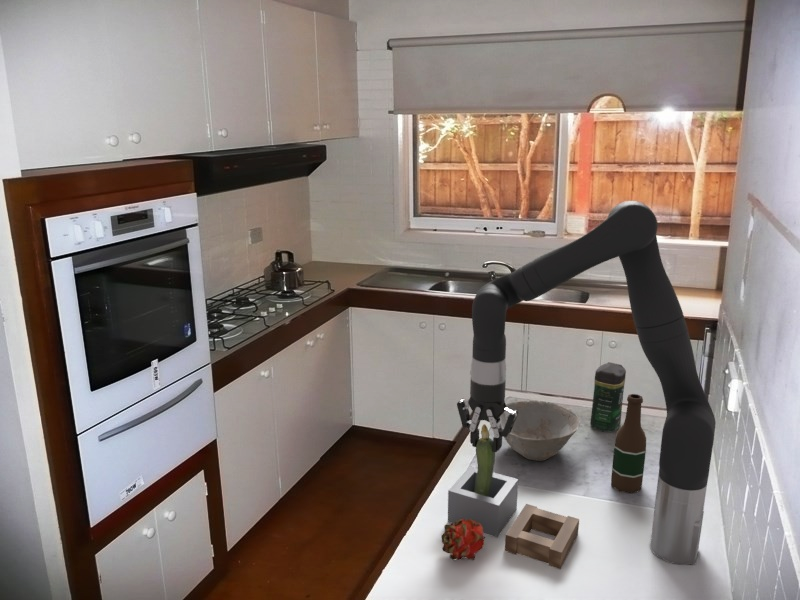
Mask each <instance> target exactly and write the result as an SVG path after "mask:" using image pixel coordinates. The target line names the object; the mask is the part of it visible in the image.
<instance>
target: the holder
mask: <svg viewBox="0 0 800 600" xmlns="http://www.w3.org/2000/svg"><path fill="white" fill-rule="evenodd" d="M477 471H478V467H475V466H471V465H470V466H469V467H468V468H467V469H466V470H465V471H464V472H463V473H462V475H460V477H459V478H458V479H457V480H456V481H455V482H454V483H453V484H452V486H451V487H450V488H449V489H448V492H447V522H448V523H451V524H453V523H455V521H458V520H461V519H464V518H465V521H466V520H468V519H472V520H475V521H476V522H477V523H480V524H481V525H482V528H483V534H485V535H488V536H490V537H491V536H492V537H494V538H497V539H498V538H499V536H500V535H501V533H502V532H503V530H504V529H505V528H506V526H507V525H508V523H509V521H510V520H511V519H512V517H513V515H514V514H515V513H516V511H517V509H518V508H517V507H518V494H519V493H518V490H519V479H518V478H515V477H511V476H509V475H504V474H502V473H501V474H500V473H497V472H495V471H493V476H492V483H491V488H490V492H489V495H488V497H487V496H484V495H480V494H477V493H475V484H476V477H477Z"/></svg>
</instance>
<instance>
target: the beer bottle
mask: <svg viewBox="0 0 800 600" xmlns="http://www.w3.org/2000/svg"><path fill="white" fill-rule="evenodd" d="M626 400H627V407H626V413H625V417H624V418H625V419H624V422H623V424H622V425H621V426H619V427H618V429H617V432H616V434H615V438H614V446H613V455H612V456H613V457H612V465H611V466H612V467H611V476H610V477H611V478H610V479H611V481H610V485H611V486H612V487H613V488H614V489H616V490H617V491H618V492H621V493H626V494H627V493H628V494H635V493H638V492H641V490H642V486H643V481H644V480H643V479H644V478H643V477H644V470H645V461H646V453H647V436H646V433H645V431H644V429H643V428H642V427H643V426H642V423H641V419H642V404H643V402H644V398H643V396H642V395H640V394H637V393H631V394H628V395H627V399H626ZM637 491H638V492H637Z"/></svg>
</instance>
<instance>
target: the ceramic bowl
mask: <svg viewBox="0 0 800 600" xmlns="http://www.w3.org/2000/svg"><path fill="white" fill-rule="evenodd" d="M505 404H506V403H505ZM506 407H507V408H508V409H510V410H512V411H513V410H517V411H518V415H517V418H516V420H515V423H514V425H513V428H512V430H511V432H510V433H509V434H508V436H507V437H503V438H504V440H505V441H506V442H507V444H508V445H509V446H510V448H511V449H512V450H514V451H515V452H516V453H517V454H519V455H521V457H522V456H523V457H524V458H526V459H528V460H529V461H537V462H538V461H539V462H542V461H545V460H547V459H550V458H551V457H553V456H555V455H557V454H558V453H559V452H560V451H561V450H562V449H563V448H564V447H565V446H566V445H567V443H568V442H569V440H570V439H571V438H572V437H573V436H574V434H575V433H576V432H577V430H579V428H580V425H581V422H580V418H579V416H578V415H577V413H575V412H574V411H572V410H571V409H568V408H566V407H564V406H562V405H559V404H556V403H554V402H549V401H541V400H540V401H538V400H529V401H528V400H520V401H512V402H509V403H507V404H506ZM505 416H506V415H505V413H503V414H502V415H501V420H502V428H503V429H504V427H505V425H506V422H507V420H506V418H505Z"/></svg>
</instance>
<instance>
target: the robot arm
mask: <svg viewBox="0 0 800 600" xmlns="http://www.w3.org/2000/svg"><path fill="white" fill-rule="evenodd" d="M658 226H659V223H658V220H657V217H656V215H655V213H654V212H653V211H652V209H651V208H650V207H649V206H647V205H646V204H644V203H642V202H641V201H636V200H625V201H622V202H620V203H618V204H617V205H615V206H614V207H613V208H612V209H611V211H610V212H609V213H608V216H607V217H606V219H604V220H603V221H602V222H601V223H600V224H598V225H597V226H596V227H595V228H593V229H592V230H590V231H589V232H587V233H585V234H584V235H582V236H581V237H579V238H577V239H575V240H573V241H570V242H569V243H567V244H565V245H563V246H560V247H558V248H556V249H553V250H551V251H549V252H547V253H544V254H542V255H540V256H539V257H537V258H535V259H533V260H531V261H529V262H527V263H525V264H524V265H522V266H520V267H519V268H517V269H516V270H514V271H513V272H510V273H508V274H505V275H502V276H500V277H497V278H495V279H493V280H491V281H489V282H487V283H486V284H484V285H483V286H481V287H479V289H478V291H477V292H476V294H475V296H474V298H473V302H472V306H471V322H472V323H471V324H472V332H473V338H472V355H471V365H470V371H469V372H470V373H469V375H470V381H469V382H470V384H469V385H470V386H469V387H470V389H469V394H470V395H469V396H470V397H469V399H466V398H464V397H463V398H461V399H460V400H459V401H458V402H456V408H457V411H458V414H459V418H460V422H461V425H462V427H463V428H467V429H468V430H469V432H470V435H469V438H470V439H469V442H470V444H471V446H472V447H473V448H476V444H477V442H478V440H479V439H480V428H479V426H480V423H481V421H486V422H487V423H489V425H490V428H491V429H492V432H493V433H492V434H493V436H492V440H493V452H495V453H497V452H499V451H500V450H501V448H502V447H503V438H504V437H507V436H508V434H509V433H510V432H511V430H512V428H513V425H514V423H515V420H516V418H517V415H518V411H517V410H513V411H512V410H510V409H508V408H507V407H506V401H505V400H506V386H507V385H506V380H507V364H506V352H507V337H506V334H505V333H506V321H507V320H506V318H507V317H506V316H507V312H508V311H507V310H508V309H509V308H512V307H513V306H515V305H517V304H520V303H521V302H523V301H524V302H530V301H533V300H535V299H537V298H539V297H541V296H543V295H544V294H547V293H548V292H550V291H552V290H554V289H555V288H558V287H559V286H561V285H562V284H564V283H566V282H568V281H569V280H572V279H573V278H574V277H577V276H578V275H580V274H582V273H584V272H586V271H587V270H591V268H592V269H593V268H594V267H595V266H598V265H600V264H602V263H605V262H608V261H610V260H613V259H616V258H617V257H618V258H619V260H620V263H621V266H622V270H623V272H624V275H625V276H624V277H625V281H626V286H627V292H628V298H629V299H628V300H629V306H630V311H631V316H632V319H633V320H632V321H633V323H634V327H635V330H636V333H637V336H638V337H637V338H638V341H639V344H640V346H641V348H642V351H643V353H644V356H645V358H646V359H647V361H648V362H649V363H650V365H651V367H652V369H653V370H654V371H655V373H656V376H657V377H658V379H659V383H660V386H661V387H662V393H663V396H664V397H663V398H664V402H665V409H666V417H665V420H664V423H663V427H662V433H661V442H660V452H659V461H658V466H659V467H658V468H659V469H658V476H657V485H656V493H655V502H654V509H653V510H654V511H653V517H652V518H653V519H652V526H651V533H650V542H649V543H650V544H649V547H650V550H651V551H652V552H653V554H654V555H656V557H658V558H660V560H661V559H662V560H663V561H665V562H668V563H672V564H677V565H678V564H679V565H686V564H687V565H696V562H697V558H698V553H699V548H700V541H701V534H702V528H703V520H704V514H705V513H704V512H705V510H704V509H705V500H706V494H707V486H708V482H709V475H710V468H711V467H710V466H711V460H712V454H713V448H714V447H713V445H714V440H715V431H716V417H715V414H714V412H713V409H712V407H711V405H710V402H709V399H708V398H707V395H706V393H705V390H704V388H703V386H702V383H701V381H700V377H699V374H698V371H697V367H696V361H695V355H694V354H695V353H694V350H693V346H692V342H691V338H690V334H689V333H690V332H689V330H688V329H689V328H688V325H687V322H686V319H685V316H684V315H685V314H684V313H683V309H682V306H681V304H680V301H679V298H678V296H677V293H676V292H675V288H674V287H673V285H672V283H671V281H670V278H669V276H668V274H667V272H666V269H665V267H664V264H663V261H662V258H661V253H660V248H659V243H658V239H657V238H658V237H657V232H658ZM469 408H470V409H471V411H472V412H473V415H472V418H471V415H470V414H471V413H470V410H469ZM503 413H505V415H506V416H505V418H506V420H507V422H506V425H505V427H504V429H503V428H502V420H501V415H502V414H503Z"/></svg>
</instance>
